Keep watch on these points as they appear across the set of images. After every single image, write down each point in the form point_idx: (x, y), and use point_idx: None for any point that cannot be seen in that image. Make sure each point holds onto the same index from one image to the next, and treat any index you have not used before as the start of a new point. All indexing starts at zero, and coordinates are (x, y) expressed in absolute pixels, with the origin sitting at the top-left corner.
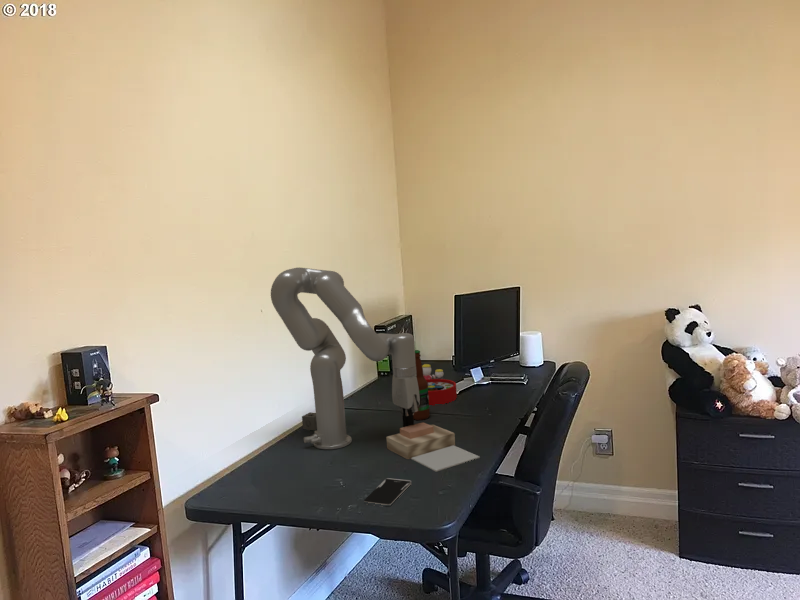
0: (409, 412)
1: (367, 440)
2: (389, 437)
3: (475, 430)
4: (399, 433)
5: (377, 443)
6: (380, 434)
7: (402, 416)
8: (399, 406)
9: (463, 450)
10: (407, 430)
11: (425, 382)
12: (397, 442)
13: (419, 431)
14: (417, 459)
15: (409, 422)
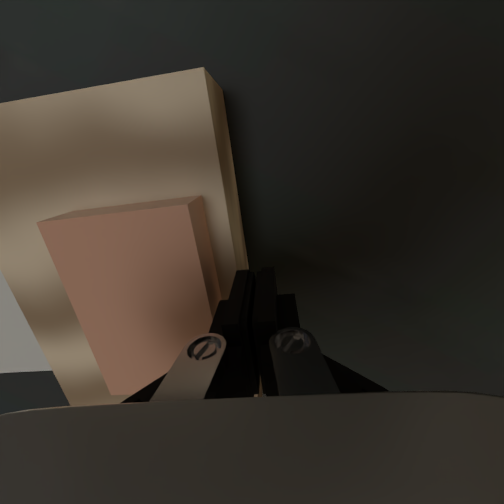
0: (154, 391)
1: (472, 27)
2: (173, 85)
3: None
4: (221, 199)
5: (359, 73)
6: (498, 168)
7: (273, 312)
8: (272, 396)
9: (31, 366)
10: (102, 233)
11: None
12: (39, 96)
13: (78, 298)
14: None
15: (216, 315)
